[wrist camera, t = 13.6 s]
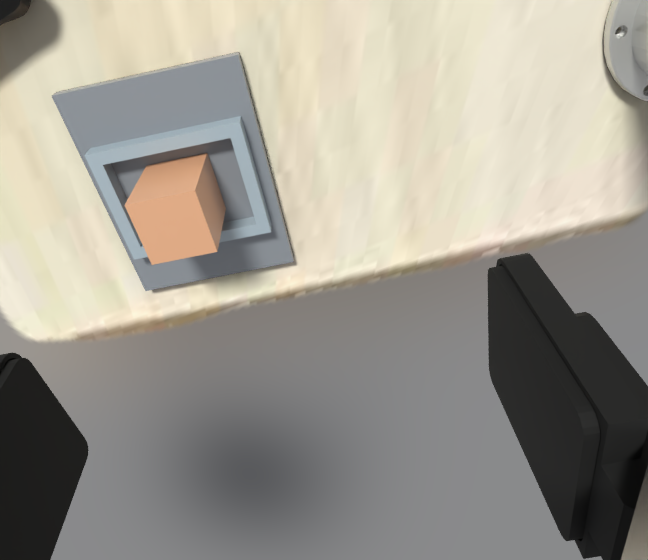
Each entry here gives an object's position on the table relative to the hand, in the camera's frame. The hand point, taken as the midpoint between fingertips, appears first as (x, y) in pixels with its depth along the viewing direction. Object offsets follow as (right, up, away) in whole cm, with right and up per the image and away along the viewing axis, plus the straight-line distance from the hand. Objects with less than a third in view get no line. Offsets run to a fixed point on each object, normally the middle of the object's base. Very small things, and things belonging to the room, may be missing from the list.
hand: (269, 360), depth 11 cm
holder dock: (-10, +10, +33) cm, 36 cm away
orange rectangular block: (-10, +9, +32) cm, 35 cm away
